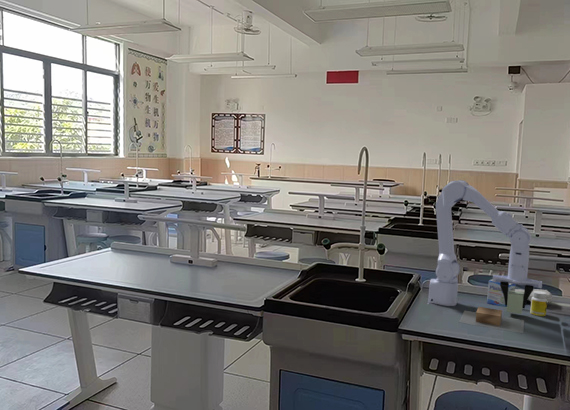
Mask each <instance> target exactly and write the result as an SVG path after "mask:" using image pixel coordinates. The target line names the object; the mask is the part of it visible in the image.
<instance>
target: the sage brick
mask: <svg viewBox="0 0 570 410" xmlns="http://www.w3.org/2000/svg"><path fill="white" fill-rule="evenodd" d="M523 296H524V293H522V292H515V291H509V292H508V301H507V307H506V312H507V313H514V314H520V315H522V314H523V308H522V307H523Z"/></svg>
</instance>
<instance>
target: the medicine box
mask: <svg viewBox="0 0 570 410" xmlns="http://www.w3.org/2000/svg"><path fill="white" fill-rule="evenodd" d="M515 289H516V284H509V287H508V292H509V291H515ZM486 303H487V304H488V305H492V306H497V307H504V308H507V306H506V305H505V299H504V295H503V292H502V289H501V287H500V282H493V278H492V279H489V280H488V287H487V298H486Z"/></svg>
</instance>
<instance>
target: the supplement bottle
mask: <svg viewBox="0 0 570 410" xmlns="http://www.w3.org/2000/svg"><path fill="white" fill-rule="evenodd" d="M546 297H547V293H545V292H542V291H533V297H532V298H531V302H530V311H529V314H530V315H532V316H536V317H546V316H547V310H548V309H547V308H548V303H547V299H546Z"/></svg>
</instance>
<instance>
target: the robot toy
mask: <svg viewBox="0 0 570 410" xmlns="http://www.w3.org/2000/svg"><path fill="white" fill-rule="evenodd" d="M524 291H525V289H519V288H518V289H517V288H515V292H522V293H524ZM533 291H542V292H545V293H547V297H546V299H547V301H548V302H549V303H551V302H552V299H553V297H552V296H553V293H551V292H549V291H548V289H542V288H537V289H535V288H533ZM533 291H532V293H531V294H530V296H529V297H528V299H527V301H529V303H531V298H532V297H533ZM523 299H524V296H523Z"/></svg>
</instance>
